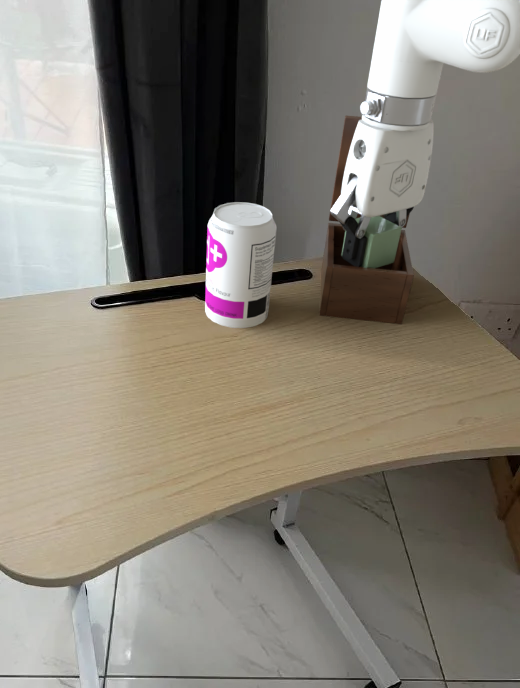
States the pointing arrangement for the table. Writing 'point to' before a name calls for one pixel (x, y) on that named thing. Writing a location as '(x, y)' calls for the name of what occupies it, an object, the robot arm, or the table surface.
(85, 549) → the table surface
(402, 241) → the chest
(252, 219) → the supplement can
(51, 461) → the table surface
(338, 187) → the lid
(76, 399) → the table surface
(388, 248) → the block
